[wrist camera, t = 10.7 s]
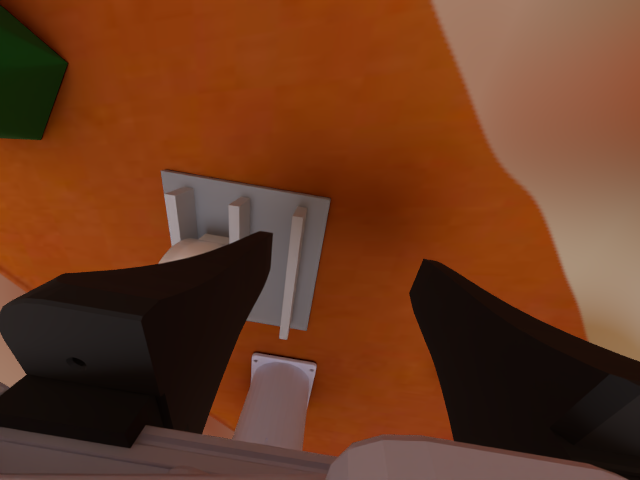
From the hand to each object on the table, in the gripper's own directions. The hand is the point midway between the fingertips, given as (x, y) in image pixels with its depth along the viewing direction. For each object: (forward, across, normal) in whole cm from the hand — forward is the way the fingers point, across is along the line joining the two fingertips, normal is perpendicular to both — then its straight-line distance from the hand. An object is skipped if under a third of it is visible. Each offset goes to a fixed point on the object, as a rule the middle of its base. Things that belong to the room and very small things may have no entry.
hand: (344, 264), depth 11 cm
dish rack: (+9, +8, +7) cm, 14 cm away
